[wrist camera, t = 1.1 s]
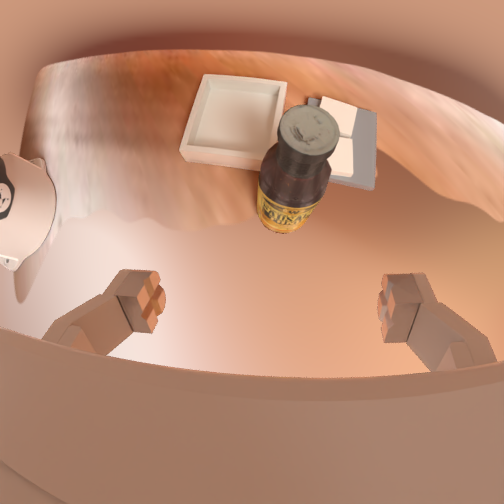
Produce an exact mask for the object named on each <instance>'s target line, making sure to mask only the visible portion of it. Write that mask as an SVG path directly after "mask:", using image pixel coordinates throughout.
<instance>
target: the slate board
mask: <svg viewBox="0 0 504 504" xmlns="http://www.w3.org/2000/svg"><path fill="white" fill-rule="evenodd" d="M321 101H322V100H320V99H315V98H308V104H307V105H314V106H317V107H320V105H321ZM376 131H377V114H376V113H375V112H372V111H368V110H364V109H360V108H357V113H356V118H355V122H354V127H353V131H352V136H351V138H350V139H352V142H353V175H352V176H351V177H345V176H338V175H330V178H329V181H328V182H333V183H338V184H343V185H347V186H352V187H356V188H361V189H365V190H370V191H372V190H373V189H374V187H375V169H376Z"/></svg>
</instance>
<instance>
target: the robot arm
mask: <svg viewBox="0 0 504 504" xmlns="http://www.w3.org/2000/svg"><path fill="white" fill-rule="evenodd" d="M55 206H56V196H55V189H54V186H53V183H52V181H51V180H50V178H49V177H48V175H47V173H46V165H45V161H44V160H43V159H41V158H35V159H31V160H28V161H27V160H25V159H23V158H21V157H19V156H17V155H16V154H14V153H8V154H5V155H2V156H0V263H1V264H2V265H3V266H5V267H6V268H7V269H8V270H11V271H16V270H17V269H18V268H19V266H20V265H21V263H22V262H23V260H24V259H25V258H26V257H28V256H29V255H31V254H32V253H34V252H35V251H36V250H37V249H38V248H39V247H40V246H41V244H42V243H43V241H44V240H45V238H46V236H47V234H48V232H49V230H50V228H51V225H52V222H53V218H54V213H55ZM159 282H160V277H159V274H158V272H156V271H147V270H129V269H123V270H120V271H119V273H118V274H117V275H116V277H115V278H114V279H113V281H112V282H111V283H110V285H109V286H108V287H107V289H106V290H105V292H104V293H103V294H102V295H101V294H99V295H97V296H96V297H94V298H92V299H90V300H89V301H87V302H85V303H84V304H82V305H80V306H78V307H77V308H75V309H73V310H72V311H70V312H68V313H67V314H65V315H63V316H62V317H60V318H58V319H57V320H55V321H54V322H53V324H52V325H51V326H50V328H49V329H48V331H47V332H46V333H45V335H44V336H43V338H42V339H38V338H34V337H31V336H28V335H24V334H21V333H18V332H15V331H12V330H9V329H5V328H2V327H0V504H504V361H500V362H497V359H496V357H495V355H494V352H493V350H492V347H491V345H490V343H489V340H488V338H487V337H486V336H485V335H484V334H482V333H481V332H480V331H478V330H477V329H476V328H475V327H473V326H472V325H471V324H469V323H468V322H467V321H465V320H464V319H463V318H462V317H460V316H459V315H458V314H456V313H455V312H454V311H452V310H451V309H450V308H448V307H447V306H446V305H444V304H443V303H438V301H437V299H436V297H435V295H434V292H433V290H432V288H431V286H430V283H429V282H428V279H427V277H426V275H425V274H424V273H410V274H384V275H383V278H382V288H383V290H382V291H381V292H380V293H379V298H378V316H379V320H381V321H382V322H383V323H382V327H381V331H382V336H383V341H384V343H398V342H399V343H400V342H407V343H406V344H407V345H408V346H409V347H410V348H411V349H412V351H413V352H414V353H415V354H416V355H417V356H418V357H419V358H420V360H421V361H422V362H423V363H424V364H425V365H426V367H427V368H428V369H429V370H430V371H431V372H427V373H416V374H405V375H392V376H376V377H353V378H352V377H351V378H300V377H272V376H254V375H240V374H228V373H217V372H208V371H199V370H190V369H182V368H175V367H168V366H161V365H155V364H149V363H142V362H137V361H131V360H126V359H120V358H116V357H111V356H106V355H107V354H109V353H110V352H111V351H112V350H113V349H114V348H116V347H117V346H118V345H119V344H120V343H121V342H123V341H124V340H125V339H126V338H127V337H129V336H130V335H131V334H132V333H133V332H141V333H153V330H154V329H155V326H156V324H157V322H158V319H157V316H158V315H160V314H161V313H162V312H163V310H164V308H165V303H166V297H165V292H164V289H163V288H162V287H161V286H160V285H159Z"/></svg>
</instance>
